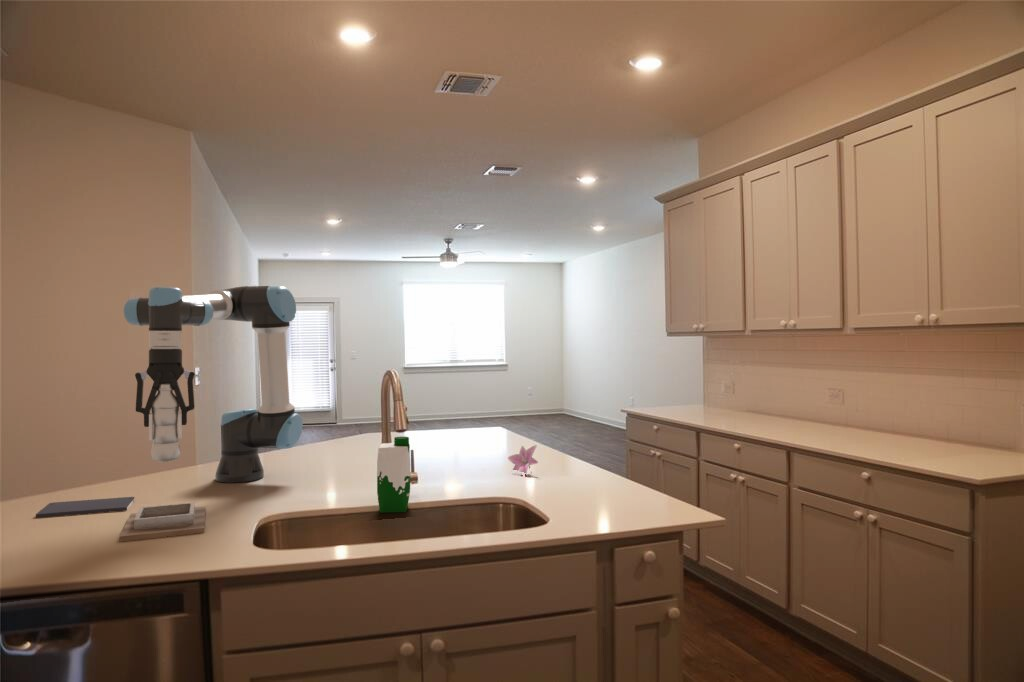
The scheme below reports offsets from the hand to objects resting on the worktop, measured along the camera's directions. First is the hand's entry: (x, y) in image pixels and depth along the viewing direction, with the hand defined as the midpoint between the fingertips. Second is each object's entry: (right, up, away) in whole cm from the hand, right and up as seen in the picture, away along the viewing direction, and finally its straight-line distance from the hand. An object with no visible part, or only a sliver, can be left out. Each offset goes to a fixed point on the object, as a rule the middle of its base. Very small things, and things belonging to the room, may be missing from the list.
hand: (165, 438), depth 170 cm
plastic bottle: (0, -6, 0) cm, 6 cm away
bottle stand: (0, -22, 0) cm, 22 cm away
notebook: (-30, -23, +16) cm, 41 cm away
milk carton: (+55, -22, +16) cm, 62 cm away
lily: (+92, -22, +64) cm, 115 cm away
